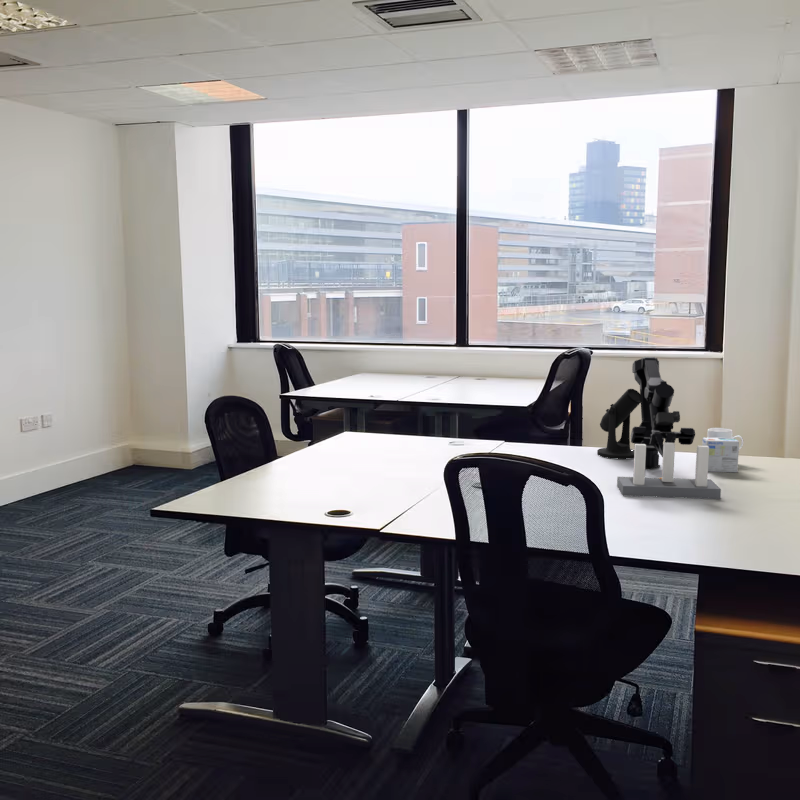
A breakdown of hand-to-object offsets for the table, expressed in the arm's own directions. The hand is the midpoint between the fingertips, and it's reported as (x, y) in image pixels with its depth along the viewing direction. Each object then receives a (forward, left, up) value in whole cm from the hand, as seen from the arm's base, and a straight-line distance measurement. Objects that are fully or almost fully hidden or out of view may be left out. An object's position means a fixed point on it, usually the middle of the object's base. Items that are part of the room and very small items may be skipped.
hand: (665, 458), depth 257 cm
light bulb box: (-3, +36, -10) cm, 38 cm away
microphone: (-39, +29, -10) cm, 50 cm away
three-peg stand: (+4, -4, -9) cm, 11 cm away
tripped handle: (+3, -3, -6) cm, 8 cm away
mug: (-9, +49, -10) cm, 51 cm away
